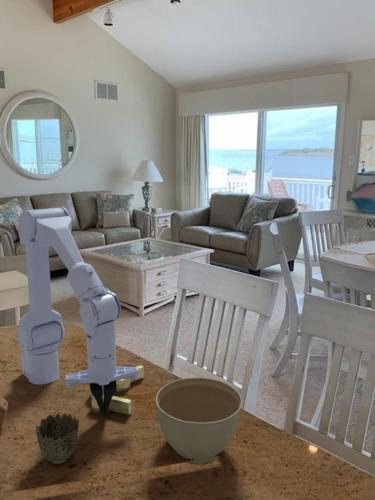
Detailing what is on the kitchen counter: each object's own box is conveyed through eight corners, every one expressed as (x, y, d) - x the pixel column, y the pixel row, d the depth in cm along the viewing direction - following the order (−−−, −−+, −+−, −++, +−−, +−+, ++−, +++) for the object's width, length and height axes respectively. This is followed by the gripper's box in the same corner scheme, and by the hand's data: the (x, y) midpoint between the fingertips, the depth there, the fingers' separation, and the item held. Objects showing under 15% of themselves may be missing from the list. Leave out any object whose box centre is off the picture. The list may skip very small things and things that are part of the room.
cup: (69, 480, 80) (67, 439, 78) (30, 474, 81) (27, 433, 80) (87, 453, 87) (85, 415, 85) (51, 448, 89) (48, 410, 87)
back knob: (118, 394, 106) (117, 382, 105) (105, 386, 109) (105, 375, 109) (148, 380, 112) (148, 369, 112) (136, 373, 116) (135, 362, 115)
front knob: (87, 410, 99) (86, 398, 98) (99, 400, 103) (99, 387, 103) (124, 420, 96) (124, 407, 95) (135, 408, 100) (135, 396, 99)
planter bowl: (162, 484, 79) (162, 427, 77) (151, 429, 95) (150, 381, 92) (252, 472, 82) (254, 416, 80) (227, 421, 98) (228, 374, 95)
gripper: (64, 365, 87) (68, 429, 90) (140, 357, 91) (141, 418, 94) (64, 350, 94) (67, 410, 97) (135, 343, 98) (136, 401, 101)
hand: (103, 413), depth 96 cm, fingers closed
